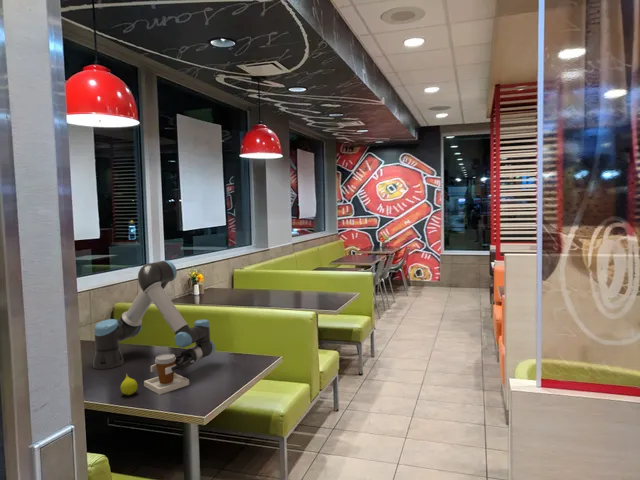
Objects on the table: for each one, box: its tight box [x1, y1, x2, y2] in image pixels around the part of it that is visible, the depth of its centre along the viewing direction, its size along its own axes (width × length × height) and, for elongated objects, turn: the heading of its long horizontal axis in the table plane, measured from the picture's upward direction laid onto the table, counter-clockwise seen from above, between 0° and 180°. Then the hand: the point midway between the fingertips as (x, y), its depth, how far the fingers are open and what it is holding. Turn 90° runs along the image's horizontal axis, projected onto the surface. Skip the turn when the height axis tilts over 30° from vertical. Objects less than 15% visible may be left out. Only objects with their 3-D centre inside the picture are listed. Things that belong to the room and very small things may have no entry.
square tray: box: [143, 372, 190, 396], centre depth 219 cm, size 15×15×2 cm
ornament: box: [120, 373, 138, 396], centre depth 209 cm, size 7×7×10 cm
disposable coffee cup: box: [154, 353, 176, 384], centre depth 218 cm, size 10×10×12 cm
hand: (158, 370), depth 214 cm, fingers closed on disposable coffee cup, 8 cm apart
